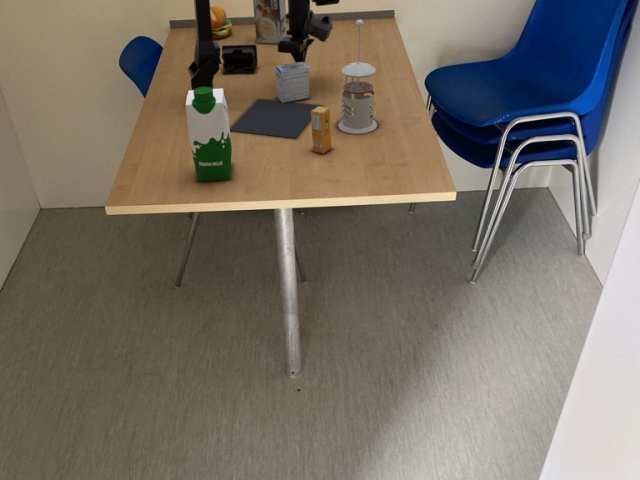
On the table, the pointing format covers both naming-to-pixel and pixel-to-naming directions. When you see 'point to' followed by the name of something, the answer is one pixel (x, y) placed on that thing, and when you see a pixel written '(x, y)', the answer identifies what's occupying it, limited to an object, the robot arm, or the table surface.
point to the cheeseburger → (220, 23)
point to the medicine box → (292, 82)
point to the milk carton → (209, 133)
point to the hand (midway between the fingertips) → (301, 68)
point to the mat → (275, 118)
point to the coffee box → (270, 20)
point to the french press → (358, 97)
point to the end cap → (239, 59)
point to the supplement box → (321, 129)
